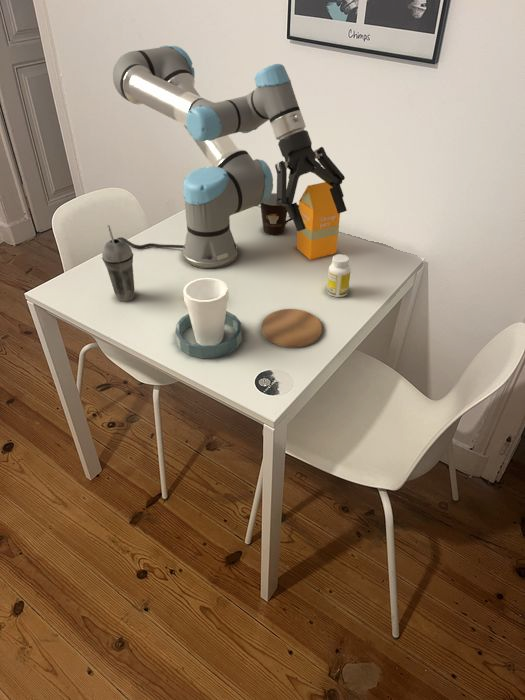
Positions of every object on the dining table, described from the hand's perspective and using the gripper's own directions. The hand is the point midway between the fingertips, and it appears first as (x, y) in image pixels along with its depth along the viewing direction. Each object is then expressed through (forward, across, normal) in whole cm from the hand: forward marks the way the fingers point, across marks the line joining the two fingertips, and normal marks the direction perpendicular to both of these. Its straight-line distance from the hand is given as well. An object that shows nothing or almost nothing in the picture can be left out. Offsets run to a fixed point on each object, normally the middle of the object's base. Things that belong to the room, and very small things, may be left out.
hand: (322, 221), depth 130 cm
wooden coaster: (+20, -21, -3) cm, 29 cm away
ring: (+14, -38, +4) cm, 41 cm away
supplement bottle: (+18, -2, +2) cm, 18 cm away
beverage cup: (-1, -46, +27) cm, 53 cm away
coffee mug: (0, +8, +32) cm, 33 cm away
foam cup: (+14, -38, +4) cm, 41 cm away
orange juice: (+8, +9, +19) cm, 22 cm away
